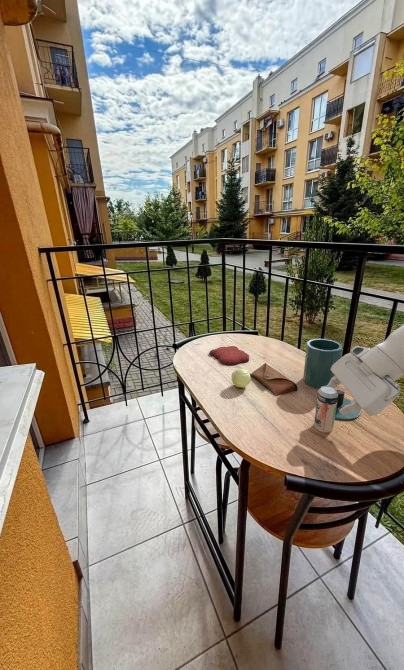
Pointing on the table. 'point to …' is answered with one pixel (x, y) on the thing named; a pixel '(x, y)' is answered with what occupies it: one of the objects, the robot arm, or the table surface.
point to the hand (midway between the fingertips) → (332, 401)
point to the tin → (320, 361)
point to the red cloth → (230, 355)
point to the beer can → (325, 408)
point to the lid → (344, 401)
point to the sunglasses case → (274, 380)
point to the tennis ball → (241, 378)
